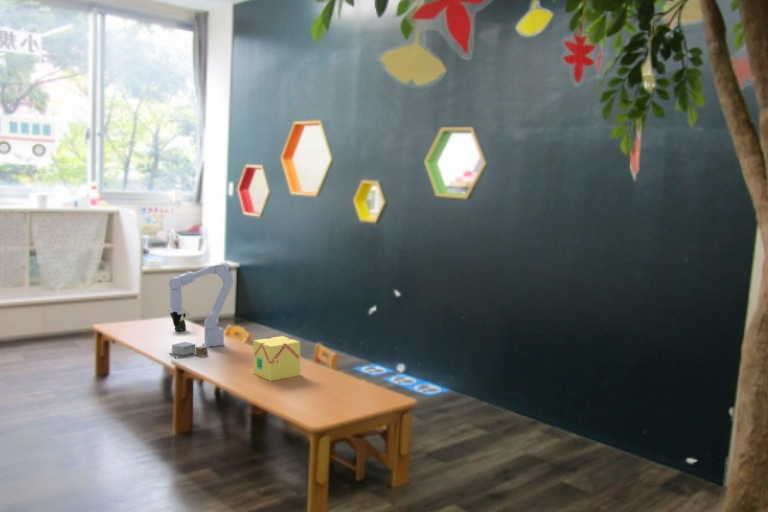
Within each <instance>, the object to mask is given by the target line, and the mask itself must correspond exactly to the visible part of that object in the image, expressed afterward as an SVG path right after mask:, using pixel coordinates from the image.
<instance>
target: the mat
mask: <svg viewBox="0 0 768 512" xmlns="http://www.w3.org/2000/svg"><path fill="white" fill-rule="evenodd" d="M169 355H170V356H172V358H174V357H182V358H186V357H185V356H190V357H194V356H193V355H194V353H191V354H187V355H179V354H175V353H172V352H169Z"/></svg>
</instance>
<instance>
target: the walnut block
mask: <svg viewBox="0 0 768 512" xmlns="http://www.w3.org/2000/svg"><path fill="white" fill-rule="evenodd" d="M208 351H209V350H208V347H206V346H204V345H201V346H196V353H195V356H197V355H199V356H198V357H200V356H201V357H204V356H203V355H205V356H208V355H207V354H208Z"/></svg>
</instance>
